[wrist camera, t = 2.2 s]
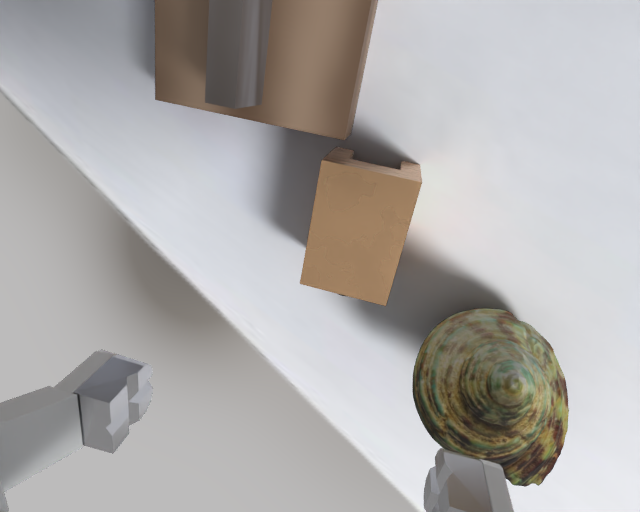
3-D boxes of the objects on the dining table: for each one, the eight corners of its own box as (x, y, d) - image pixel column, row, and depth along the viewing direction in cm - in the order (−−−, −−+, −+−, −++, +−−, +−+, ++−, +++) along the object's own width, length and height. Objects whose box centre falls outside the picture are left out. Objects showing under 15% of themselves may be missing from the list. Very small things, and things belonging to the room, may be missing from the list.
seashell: (392, 391, 34) (386, 505, 25) (429, 274, 29) (438, 361, 20) (521, 426, 32) (564, 559, 23) (583, 309, 27) (667, 420, 18)
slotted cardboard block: (419, 164, 26) (421, 182, 21) (388, 275, 29) (384, 310, 25) (336, 146, 26) (321, 160, 22) (315, 256, 30) (299, 287, 26)
